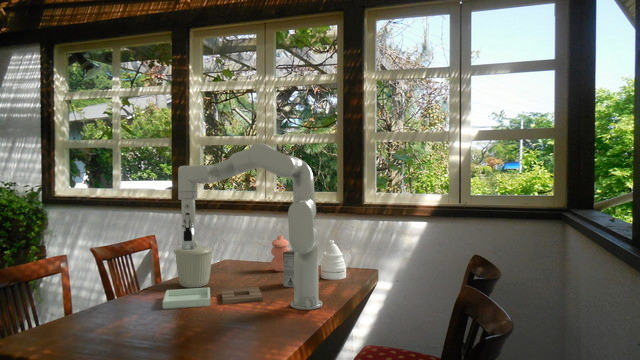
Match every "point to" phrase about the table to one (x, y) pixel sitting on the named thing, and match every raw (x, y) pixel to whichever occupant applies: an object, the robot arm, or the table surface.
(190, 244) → the lock pin
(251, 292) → the wooden base board
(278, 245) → the ceramic vessels
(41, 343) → the table surface
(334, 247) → the honey pot
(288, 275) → the coffee box
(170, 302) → the tray
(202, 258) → the canister
